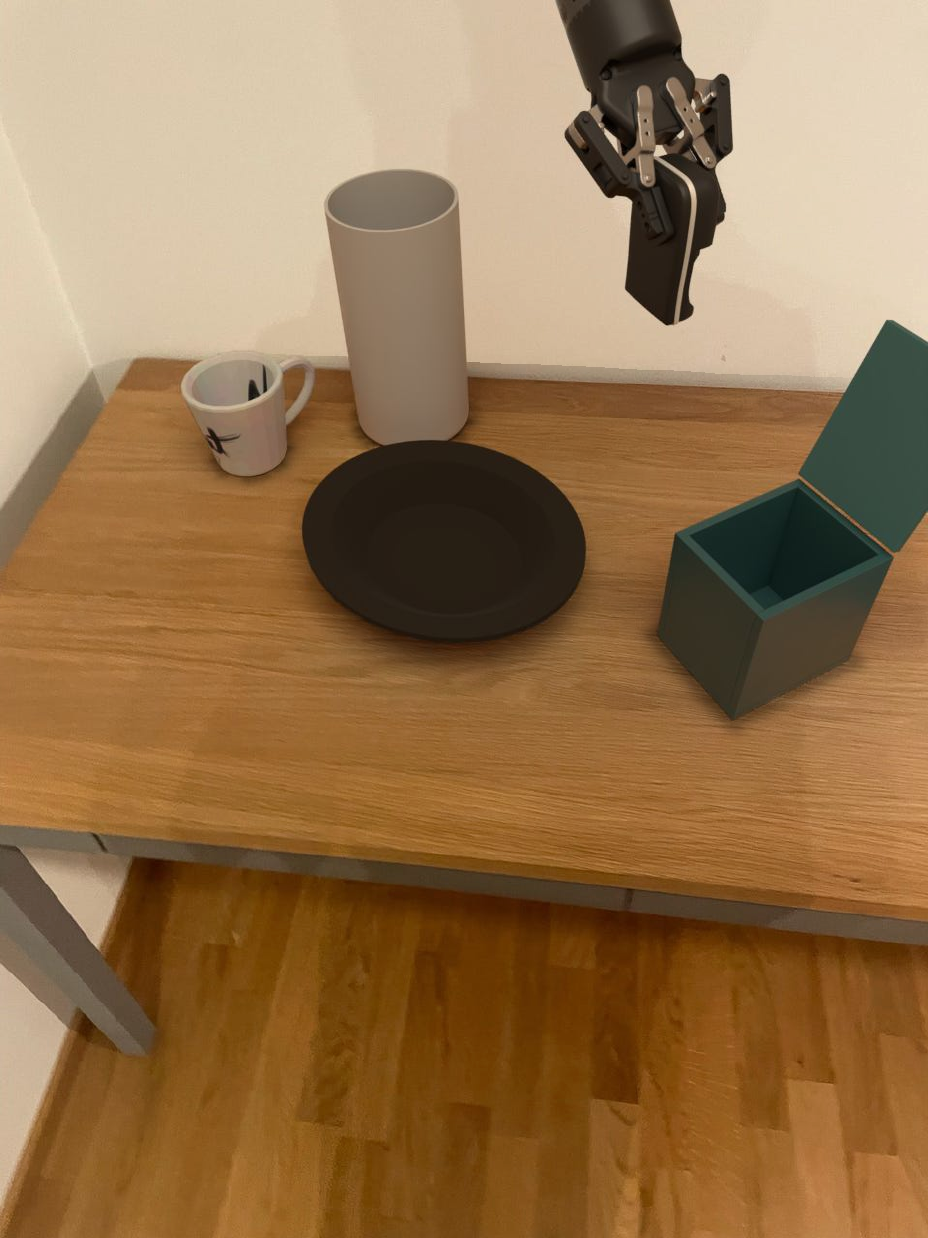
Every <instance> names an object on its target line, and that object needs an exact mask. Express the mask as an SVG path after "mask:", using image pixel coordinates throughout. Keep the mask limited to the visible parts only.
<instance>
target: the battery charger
mask: <svg viewBox="0 0 928 1238" xmlns="http://www.w3.org/2000/svg"><path fill="white" fill-rule="evenodd" d="M653 160H654V169H655V179H656V181H655V184H654V188H655V187H658V186H660V189H661V192H662V195H663V198H664V201H665V203H666V206H667V209H668V212H669V215H670V218H671V221H672V224H673V227H674V231H675V234H674V237H673V238H672V239H670V240H669V241H668V242H666V243H665V244H663V245H660V246H657V247H655V246H654V245H653V244H652V242H651V240H649V241H648V240H647V238H646V237H645V236H644V234H643V231H642V227H641V225H640V221H639V219H638V216H637V213H636V210H635V207H634V205H633V202H632V201H631V202H632V203H631V212H630V224H629V235H628V253H627V254H628V256H627V265H626V273H625V274H626V275H625V282H624V284H625V285H624V290H625V291H626V292H627V294H629V296H631V297H632V298H633V299H634V300H635V301H636V302H637V303H638V304H639V305H640V306H641V307H643V309H645V310H646V311H647V312H648V313H649V314H650V315H652V316H653V317H654V318H656V320H658V321H659V322H660V323H662V324H663V325H664V326H667V327H669V326H675V325H678V324H679V323H681V322H684V321H687V320H689V318H691V317H692V316H693V314H694V311H695V306H694V305H693V304H692V302H691V301H690V300H691V299H690V287H691V281H692V276H693V270H694V267H695V263H696V261H697V259H698V258H699V256H700V254H701V251H702V250H704V249H707V248H709V247H711V246H712V245H713V243H714V238H715V234H716V230H717V226H716V223H717V216H718V207H719V196H720V193H719V186H718V183H717V181H716V180H715V178H714V177H713V176H712V175H711V174H710V173H709V172H707V171H706V170H704V169H703V168H702V167H700V166H699V165H697V164H696V163H694V162H693V161H691V160H690V159H688V158H686V157H685V156H683V155H680V154H678V153H670V154H667V153H666V154H663V155H659V156H657V155H653Z"/></svg>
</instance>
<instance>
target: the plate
mask: <svg viewBox="0 0 928 1238" xmlns="http://www.w3.org/2000/svg"><path fill="white" fill-rule="evenodd" d="M584 530H585V529H584V527H583V524H582V521H581V519H580V516H579V515H578V513H577V511H576V509H575V507H574V506H573V504H572V502H571V501H570V500H569V499H568V497H567V496H566V495H565V493H563V491H562V490H561V489H560V488H559V487H558V486H557V485H556V484H555V483H553V482H552V481H551V480H550V479H549V478H548V477H546V476H545V475H544V474H542V473H541V472H540V471H538V470H536V468H533V467H532V466H531V465H529V464H527V463H525V462H523V461H521V460H519V459H517V458H515V457H513V456H511V455H508V454H506V453H504V452H500V451H497V450H496V449H492V448H488V447H486V446H482V445H477V444H474V443H473V444H472V443H468V442H461V441H453V440H447V441H445V440H417V441H406V442H400V443H394V444H389V445H385V446H384V445H381V446H378V447H375V448H372V449H369V450H366V451H364V452H361V453H359V454H357V455H355V456H352V457H351V458H349V459H347V460H346V461H344V462H342V463H341V464H340V465H338V466H337V467H335V468H334V469H333V470H331V471H330V472H329V473H327V475H325V477H324V478H322V480H321V481H320V482H319V483H318V485H317V486H316V487H315V488H314V490H313V492H312V493H311V495H310V497H309V499H308V501H307V503H306V505H305V508H304V511H303V515H302V522H301V537H302V544H303V549H304V553H305V555H306V559H307V562H308V564H309V566H310V568H311V571H312V572H313V574H314V576H315V577H316V579H317V581H318V582H319V584H320V585H321V586H322V587H323V588H324V590H325V591H326V592H327V593H328V594H329V595H330V596H331V597H332V598H333V599H334V600H335V601H336V602H337V603H338V604H340V605H341V606H342V607H343V608H345V609H346V610H347V611H349V612H350V613H351V614H353V615H354V616H356V617H358V618H360V619H362V620H363V621H365V622H366V623H369V624H370V625H373V626H375V627H377V628H380V629H381V630H383V631H386V632H388V633H389V632H390V633H392V634H395V635H398V636H402V637H405V638H410V639H414V640H418V641H423V642H430V643H439V644H476V643H485V642H492V641H497V640H501V639H504V638H509V637H513V636H515V635H518V634H521V633H523V632H525V631H528V630H530V629H532V628H535V627H537V626H538V625H540V624H541V623H543V622H545V621H547V620H549V618H551V617H552V616H553V615H554V614H556V613H557V612H558V611H559V610H560V609H561V608H563V607H564V606H565V605H566V603H567V602H568V601H569V600H570V599H571V597H572V596H573V595H574V593H575V592H576V590H577V588H578V586H579V584H580V582H581V579H582V578H583V573H584V570H585V565H586V555H587V541H586V535H585V531H584Z"/></svg>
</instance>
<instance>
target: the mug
mask: <svg viewBox="0 0 928 1238" xmlns="http://www.w3.org/2000/svg"><path fill="white" fill-rule="evenodd" d="M294 368H301V369H302V370H303V371H304V381H303V385H302V388H301V390H300V392H299V394H298V396H297V397H296V399H295V401H294V402H293V403H292V405H291V406H290V407H289V408H288V409H287V410H286V401H285V400H286V399H285V380H284V375H285V374H287V373H288V372H289V371H291V370H292V369H294ZM315 382H316V369H315V366H314V365H313V364H312V363H311V362H310V360H309V359H308V358H307V357H304V356H300V355H296V356H292V357H288V358H286V359H284V360H282V361H280V362H279V363H278V361H277V360H276V359H275V358H274V357H272V356H270V355H268V354H265V353H264V352H260V351H259V352H258V351H254V350H231V351H225V352H220V353H217V354H214V355H212V356H209V357H205V358H204V359H202V360H201V361H199V362H197V363H196V364H194V365H193V366H192V367H191V368H190V369H189V370H188V371H187V372H186V373H185V374H184V376H183V378H182V381H181V384H180V391H181V397H182V398H183V400H184V402H185V404H186V406H187V408H188V409H189V412H190V413H191V415H192V417H193V419H194V421H195V423H196V424H197V427H198V428H199V430H200V432H201V434H202V436H203V437H204V439H205V441H206V444H207V445H208V447H209V449H210V451H211V452H212V454H213V456H214V458H215V460H216V462H217V464H218V465H219V466H220V467H221V469H222V470H223V471H224V472H226V473H228V474H230V475H233V476H238V477H255V476H260V475H263V474H265V473H268V472H271V471H272V470H274V469H275V468H276V467H278V466H279V465H280V464H281V463H282V462H283V460H284V459H285V458H286V454H287V450H288V446H287V445H288V440H287V426H289V425H290V424H291V423H292V422H293V421H294V420H295V419H296V418H297V417H298V415H300V413H301V412H302V410H303V409H304V408H305V406H306V404H307V403H308V401H309V399H310V398H311V395H312V393H313V391H314V387H315Z"/></svg>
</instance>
